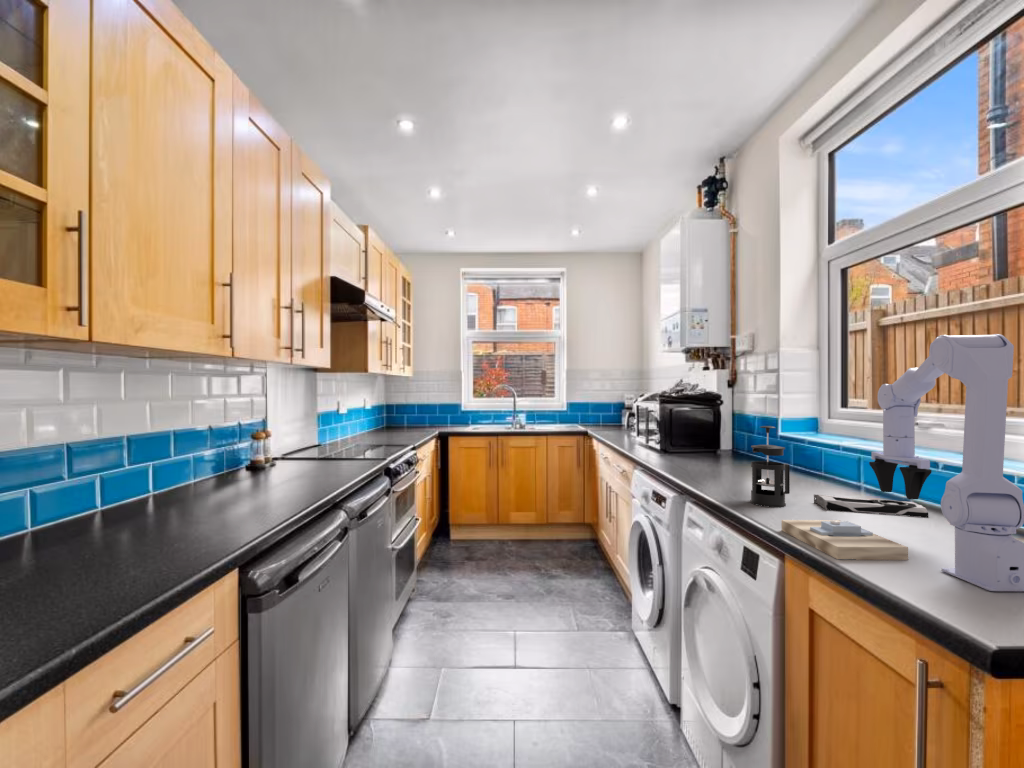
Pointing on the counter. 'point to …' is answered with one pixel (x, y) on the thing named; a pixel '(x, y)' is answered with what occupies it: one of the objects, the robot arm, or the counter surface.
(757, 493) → the french press
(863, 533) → the block
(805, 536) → the board
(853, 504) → the graphics card
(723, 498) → the counter surface
